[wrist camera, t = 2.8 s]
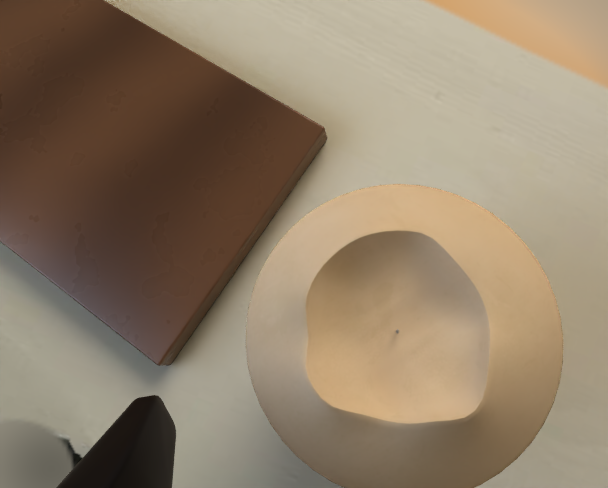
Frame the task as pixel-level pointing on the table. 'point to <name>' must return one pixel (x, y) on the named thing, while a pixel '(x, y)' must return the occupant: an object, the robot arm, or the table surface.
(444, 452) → the candle
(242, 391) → the table surface
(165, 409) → the robot arm
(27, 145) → the walnut board
